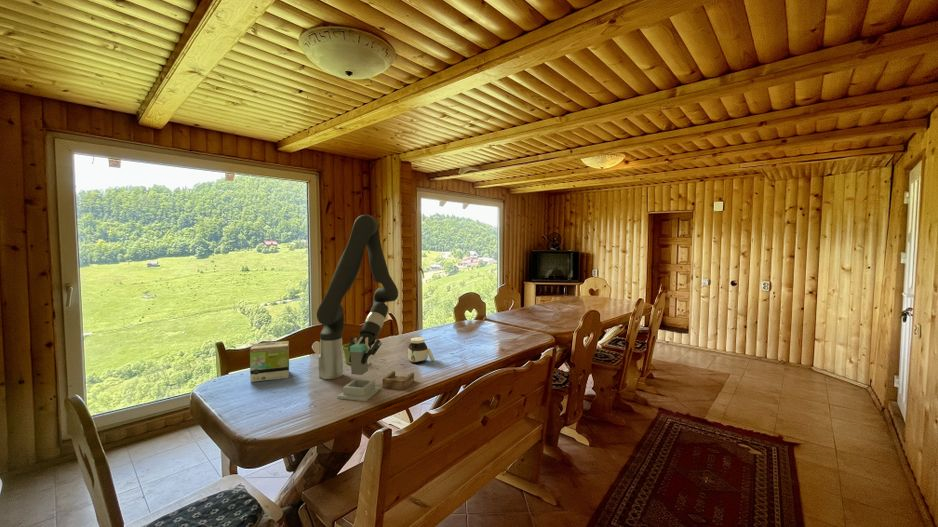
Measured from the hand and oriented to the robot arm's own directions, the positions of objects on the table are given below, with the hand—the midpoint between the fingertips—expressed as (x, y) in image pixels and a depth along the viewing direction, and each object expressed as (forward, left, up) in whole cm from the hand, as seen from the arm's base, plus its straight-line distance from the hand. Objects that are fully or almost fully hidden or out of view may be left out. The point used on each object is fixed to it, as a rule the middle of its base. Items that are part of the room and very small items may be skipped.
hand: (356, 362), depth 147 cm
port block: (0, +2, -13) cm, 13 cm away
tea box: (-48, +10, -13) cm, 51 cm away
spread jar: (+10, +46, -13) cm, 49 cm away
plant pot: (-23, +36, -13) cm, 45 cm away
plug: (0, +2, -5) cm, 5 cm away
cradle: (+11, +15, -13) cm, 23 cm away
